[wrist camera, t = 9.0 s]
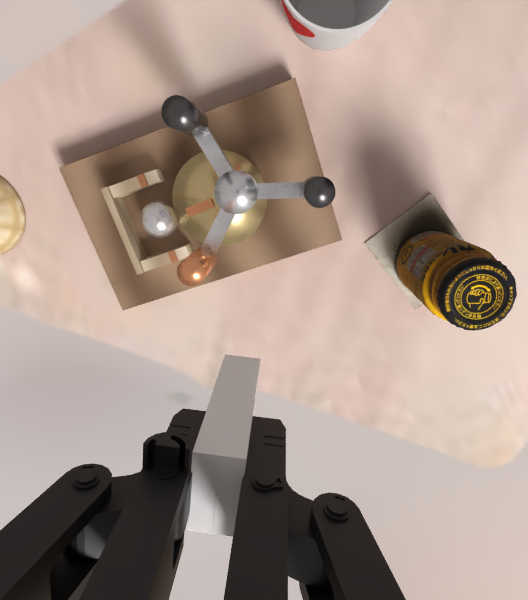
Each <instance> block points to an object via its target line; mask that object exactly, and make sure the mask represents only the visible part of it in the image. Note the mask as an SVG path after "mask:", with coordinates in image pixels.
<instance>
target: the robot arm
mask: <svg viewBox="0 0 528 600" xmlns="http://www.w3.org/2000/svg"><path fill="white" fill-rule="evenodd" d="M259 366H260V359H257V358H249V357H241V356H232V355H225V357H224V360H223V363H222V366H221V369H220V372H219V375H218V378H217V381H216V384H215V387H214V390H213V393H212V396H211V399H210V402H209V405H208V408H207V411H199V410H191V409H182V410H181V411H179V412H178V413H177V414H175V415H174V416H173V419H172V421H171V423H170V426H169V427H168V430H167V432H166V433H165V432H163V433H159V434H155V435H153V436H151V437H149V438H148V439H147V440H146V441H145V442H144V443H143V468H142V470H141V472H139V473H135V474H133V475H127V476H119V477H112V474H111V472H110V471H109V469H108V468H106V467H104V466H103V465H98V464H84V465H81V466H78V467H75V468H73V469H71V470H70V471H68V472H67V473H65V474H64V475H63V476H62V477H61V478H60V479H58V480H57V481H56V482H55V483H54V484H53V485H52V486H50V487H49V488H48V489H47V490H46V491H45V492H44V493H42V495H40V496H39V497H38V498H37V499H36V500H34V501H33V502H32V503H31V504H30V505H29V506H28V507H27V508H25V509H24V510H23V511H22V512H21V513H20V514H19V515H18V516H16V517H15V518H14V519H13V520H12V521H11V522H9V523H8V524H7V525H6V526H5V527H4V528H3V529H2V530H0V600H169V596H170V592H171V589H172V585H173V582H174V578H175V574H176V571H177V567H178V564H179V560H180V556H181V552H182V549H183V541H184V531H185V528H186V524H187V530H188V531H196V532H204V533H212V534H219V535H227V536H233V542H232V548H231V555H230V562H229V569H228V575H227V581H226V588H225V595H224V600H288V576H289V577H291V578H293V579H295V580H297V581H299V586H300V590H301V594H302V598H303V600H406V599H405V597H404V595H403V594H402V592H401V590H400V588H399V586H398V584H397V582H396V580H395V578H394V576H393V574H392V572H391V570H390V568H389V566H388V564H387V562H386V560H385V558H384V556H383V554H382V552H381V551H380V549H379V547H378V545H377V543H376V541H375V539H374V537H373V535H372V533H371V531H370V529H369V527H368V525H367V523H366V522H365V519H364V517H363V515H362V514H361V511H360V510H359V508H358V507H357V506H356V504H355V503H354V502H353V501H351V500H350V499H349V498H347V497H345V496H342V495H340V494H336V493H325V494H321V495H319V496H318V497H317V498H315V499H314V501H312V500H310V499H307V498H305V497H303V496H301V495H299V494H297V493H296V492H294V491H293V490H292V489H291V487H290V486H289V485H288V483H287V481H286V475H285V474H286V473H285V472H286V471H285V470H286V469H285V468H286V467H285V466H286V448H285V447H286V428H285V427H284V425H283V424H282V422H281V420H278V419H270V418H262V417H255V416H254V409H255V400H256V392H257V383H258V375H259ZM187 521H188V522H187Z"/></svg>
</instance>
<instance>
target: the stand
mask: <svg viewBox="0 0 528 600" xmlns="http://www.w3.org/2000/svg"><path fill="white" fill-rule="evenodd" d="M205 114H206V115H207V118H208V128H209V129H210V131H211V133H212V134H213V136H214V137H215V139H216V141H217V142H218V144H219V146H220V147H221V149H222V150H227V151H231V152H234V153H237V154H239V155H241V156H243V157H245V158H246V159H248V160H249V161H250V162H251V163H253V164H254V165H255V167H256V168H257V169H258V170H259V172H260V173H261V175H262V177H263V179H264V182H265V183H272V182H302V181H305V180H306V179H307V178H309V177H311V176H320V177H324V176H323V172H322V169H321V165H320V162H319V158H318V155H317V152H316V148H315V145H314V141H313V138H312V134H311V131H310V127H309V124H308V120H307V117H306V113H305V110H304V106H303V103H302V99H301V96H300V92H299V89H298V86H297V82H296V79H295V78H293V79H291V80H288V81H286V82H283V83H280V84H278V85H275V86H272V87H270V88H267V89H265V90H262V91H259V92H257V93H254V94H252V95H249V96H246V97H244V98H241V99H238V100H236V101H233V102H231V103H228V104H225V105H223V106H220V107H218V108H215V109H212V110H210V111H207V112H205ZM202 152H203V151H202V149H201V147H200V146H199V144H198V143H197V141H196V139H195V138H194V136H191V135H189V134H186V133H184V132H181V131H178V130H176V129H173V128H171V127H169V126H168V127H165V128H163V129H160V130H157V131H155V132H152V133H150V134H147V135H144V136H142V137H139V138H136V139H134V140H131V141H129V142H126V143H123V144H121V145H118V146H116V147H113V148H110V149H108V150H105V151H102V152H100V153H97V154H95V155H92V156H89V157H87V158H84V159H81V160H79V161H76V162H74V163H71V164H68V165H66V166H63V167H61V168H59V169H60V171H61V173H62V176H63V178H64V180H65V182H66V185H67V187H68V189H69V191H70V194H71V196H72V198H73V200H74V203H75V205H76V207H77V209H78V211H79V214H80V216H81V218H82V220H83V223H84V225H85V227H86V229H87V232H88V234H89V236H90V238H91V240H92V243H93V245H94V247H95V249H96V252H97V254H98V256H99V258H100V261H101V263H102V265H103V267H104V269H105V272H106V274H107V276H108V278H109V281H110V283H111V285H112V287H113V290H114V292H115V294H116V296H117V299H118V301H119V303H120V305H121V307H122V310H126V309H129V308H132V307H135V306H138V305H141V304H144V303H147V302H150V301H154V300H157V299H160V298H163V297H166V296H169V295H172V294H175V293H178V292H182V291H185V290H188V289H191V288H194V287H197V286H200V285H203V284H206V283H209V282H213V281H216V280H219V279H222V278H225V277H228V276H231V275H234V274H237V273H241V272H244V271H247V270H250V269H253V268H256V267H259V266H262V265H265V264H269V263H272V262H275V261H278V260H281V259H284V258H287V257H290V256H293V255H296V254H300V253H303V252H306V251H309V250H312V249H315V248H318V247H321V246H324V245H328V244H331V243H334V242H337V241H340V240H342V238H341V235H340V231H339V228H338V224H337V221H336V217H335V214H334V211H333V207H332V204H331V203H330V204H329V205H328V206H326V207H324V208H315V207H313V206H311V205H310V204H309V203H308V202H307V200H306V199H305V198H282V199H267V208H266V212H265V215H264V217H263V219H262V221H261V223H260V225H259V226H258V228H257V229H256V230H255V232H254V233H253V234H252V235H251V236H249V237H248V238H247V239H245V240H244V241H242V242H240V243H238V244H235V245H231V246H224V247H219V248H218V250H217V252H216V254H217V262H216V264H215V266H214V267H213V268H212V269H211V271H210V272H209V273H208V275H207V276H206V277H205V279H204V280H203V281H202V282H201V283H200V284H199V285H197V286H192V287H191V286H186V285H184V284H183V283H182V282H181V281H180V280H179V279H178V276H177V267H178V265H179V264H180V263H181V262H182V261H183V260H184V259H185V258H186V257H188V256H189V255H190V254H191V253H192V252H193V251H195V250H196V249H197V248H198V247H200V246H202V245H203V243H202V242H200V241H198V240H196V239H195V238H193V237H192V236H191V235H190V234H188V233H187V232H186V231H185V229H184V228H183V227H182V225H181V224H180V222H179V221H178V224H177V227H176V229H175V231H174V232H173V233H172V234H170V235H169V236H167V237H163V238H158V237H153V236H151V235H149V234H148V233H147V232H146V231H145V230H144V229H143V227H142V225H141V221H140V215H141V211H142V209H143V208H144V206H145V205H146V204H148V203H149V202H152V201H155V200H161V201H165V202H167V203H169V204H170V205H172V206H173V200H172V192H173V186H174V182H175V179H176V177H177V174H178V173H179V171H180V169H181V168H182V167H183V165H184V164H185V163H186V162H187V161H188V160H190V159H191V158H192V157H194V156H195V155H197V154H199V153H202Z"/></svg>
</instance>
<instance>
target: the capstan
mask: <svg viewBox="0 0 528 600" xmlns="http://www.w3.org/2000/svg"><path fill="white" fill-rule="evenodd" d="M162 117H163V119H164V121H165V123H166V124H167V125H168V126H169V127H171V128H173V129H176V130H178V131H181V132H184V133H186V134H189V135H191V136H194V138H195V139H196V141H197V143H198V144H199V146H200V147H201V149H202V151H203V152H202V153H199V154H197V155H195V156H194V157H192V158H191V159H190V160H188V161H187V162H186V163H185V164H184V165H183V167H182V168H181V169H180V171H179V173H178V174H177V177H176V179H175V182H174V186H173V192H172V200H173V207H174V211H175V214H176V217H177V219H178V221H179V222H180V224H181V225H182V227H183V228H184V229H185V231H186V232H187V233H188V234H190V235H191V236H192V237H193V238H195V239H196V240H198V241H200V242H202V243H203V245H202V246H200V247H198V248H197V249H196V250H195V251H193V252H192V253H191V254H190V255H189V256H188V257H186V258H185V259H184V260H183V261H182V262H181V263H180V264H179V265H178V267H177V276H178V279H179V280H180V281H181V282H182V283H183V284H184V285H186V286H191V287H192V286H197V285H199V284H200V283H201V282H202V281H203V280H204V279H205V277H206V276H207V275H208V273H209V272H210V271H211V269H212V268H213V267H214V266H215V264H216V262H217V254H216V252H217V250H218V248H219V247H224V246H231V245H235V244H238V243H240V242H242V241H244V240H245V239H247V238H248V237H249V236H251V235H252V234H253V233H254V232H255V230H256V229H257V228H258V226H259V225H260V223H261V221H262V219H263V217H264V215H265V212H266V208H267V199H282V198H305V199H306V200H307V202H308V203H309V204H310V205H311V206H313V207H315V208H324V207H326V206H328V205H329V204H330V203H331V202H332V201H333V199H334V197H335V187H334V185H333V183H332V182H331V181H330V180H329V179H328V178H325V177H320V176H311V177H309V178H307V179H306V180H305V181H302V182H272V183H265V182H264V179H263V177H262V175H261V173H260V172H259V170H258V169H257V168H256V167H255V165H254V164H253V163H251V162H250V161H249V160H248V159H246V158H245V157H243V156H241V155H239V154H237V153H234V152H231V151H227V150H222V149H221V147H220V146H219V144H218V142H217V141H216V139H215V137H214V136H213V134H212V133H211V131H210V129H209V128H208V118H207V115H206V114H205V112H204V111H202V110H201V109H200V108H198V107H197V106H195V105H194V104H193V103H191V102H190V101H189V100H187V99H186V98H184V97H182V96H179V95H174V96H171V97H169V98H168V99H166V101H165V102H164V104H163V106H162Z"/></svg>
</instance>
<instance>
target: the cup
mask: <svg viewBox="0 0 528 600" xmlns="http://www.w3.org/2000/svg"><path fill="white" fill-rule="evenodd" d="M280 2H281V6H282V9H283V12H284V14H285V17H286V19H287V20H288V22H289V24H290V26H291V28H292V30H293V31H294V33H295V34H296V36H297V37H298V38H299V39H300V40H301V41H302V42H303V43H304V44H306V45H307V46H309V47H311V48H313V49H316V50H320V51H333V50H338V49H340V48H343V47H345V46H347V45H348V44H350V43H352V42H353V41H355V40H357V39H358V38H360V37H361V36H363V35H364V34H365V33H366V32H367V31H368V30H369V29H370V28H371V27H372V26H373V25H374V24H375V22H376V21H377V20H378V19H379V18H380V17H381V15H382V14H383V13H384V12H385V11H386V9H387V8H388V7H389V6H390V4H391V3H392V2H393V0H280Z"/></svg>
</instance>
